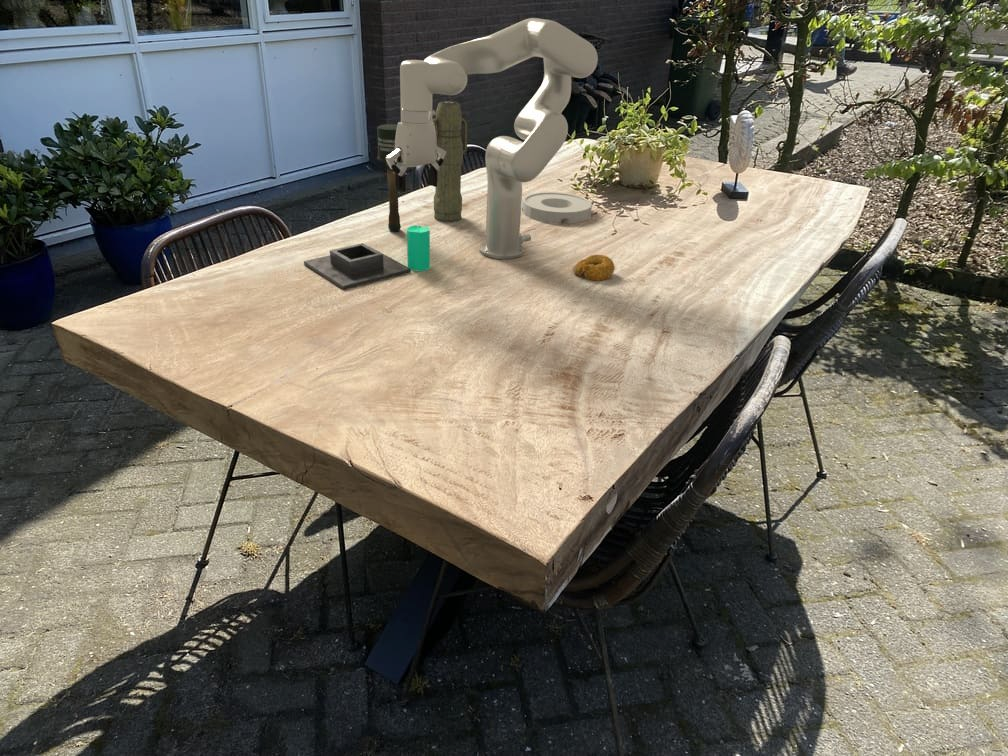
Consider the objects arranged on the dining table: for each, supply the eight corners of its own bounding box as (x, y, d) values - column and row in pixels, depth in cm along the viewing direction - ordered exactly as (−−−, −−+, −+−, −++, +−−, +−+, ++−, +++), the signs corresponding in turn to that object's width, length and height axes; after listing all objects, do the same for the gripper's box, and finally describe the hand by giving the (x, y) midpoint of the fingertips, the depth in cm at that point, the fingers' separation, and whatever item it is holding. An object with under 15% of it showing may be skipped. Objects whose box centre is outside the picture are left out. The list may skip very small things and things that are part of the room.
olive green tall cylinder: (471, 219, 225) (474, 103, 207) (438, 224, 219) (439, 105, 201) (456, 211, 231) (458, 98, 213) (425, 216, 225) (424, 100, 207)
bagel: (571, 266, 194) (573, 250, 192) (611, 269, 194) (613, 252, 192) (573, 280, 185) (575, 263, 183) (615, 283, 185) (617, 266, 183)
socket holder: (369, 249, 197) (368, 234, 195) (410, 272, 184) (410, 256, 182) (304, 264, 185) (302, 248, 183) (343, 289, 173) (342, 272, 170)
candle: (426, 272, 185) (426, 228, 179) (404, 269, 186) (403, 225, 180) (432, 264, 190) (432, 221, 184) (411, 261, 191) (410, 218, 185)
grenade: (374, 232, 210) (370, 127, 195) (389, 224, 217) (386, 122, 202) (399, 237, 207) (396, 131, 192) (413, 228, 214) (412, 126, 199)
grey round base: (545, 199, 250) (546, 188, 248) (603, 213, 238) (604, 201, 236) (507, 213, 233) (508, 201, 231) (567, 229, 222) (568, 217, 220)
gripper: (436, 111, 176) (435, 180, 185) (377, 116, 166) (379, 189, 174) (454, 116, 171) (453, 187, 180) (395, 122, 161) (396, 196, 170)
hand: (416, 188), depth 177 cm, fingers open, 9 cm apart
